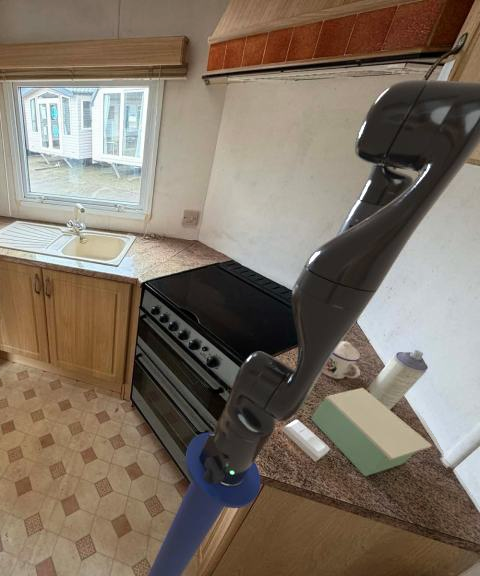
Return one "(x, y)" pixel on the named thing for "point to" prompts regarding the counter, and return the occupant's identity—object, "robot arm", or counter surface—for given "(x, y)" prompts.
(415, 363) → the aerosol can
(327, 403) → the container
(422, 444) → the lid
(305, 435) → the white light switch
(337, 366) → the teacup with lid
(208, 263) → the counter surface
